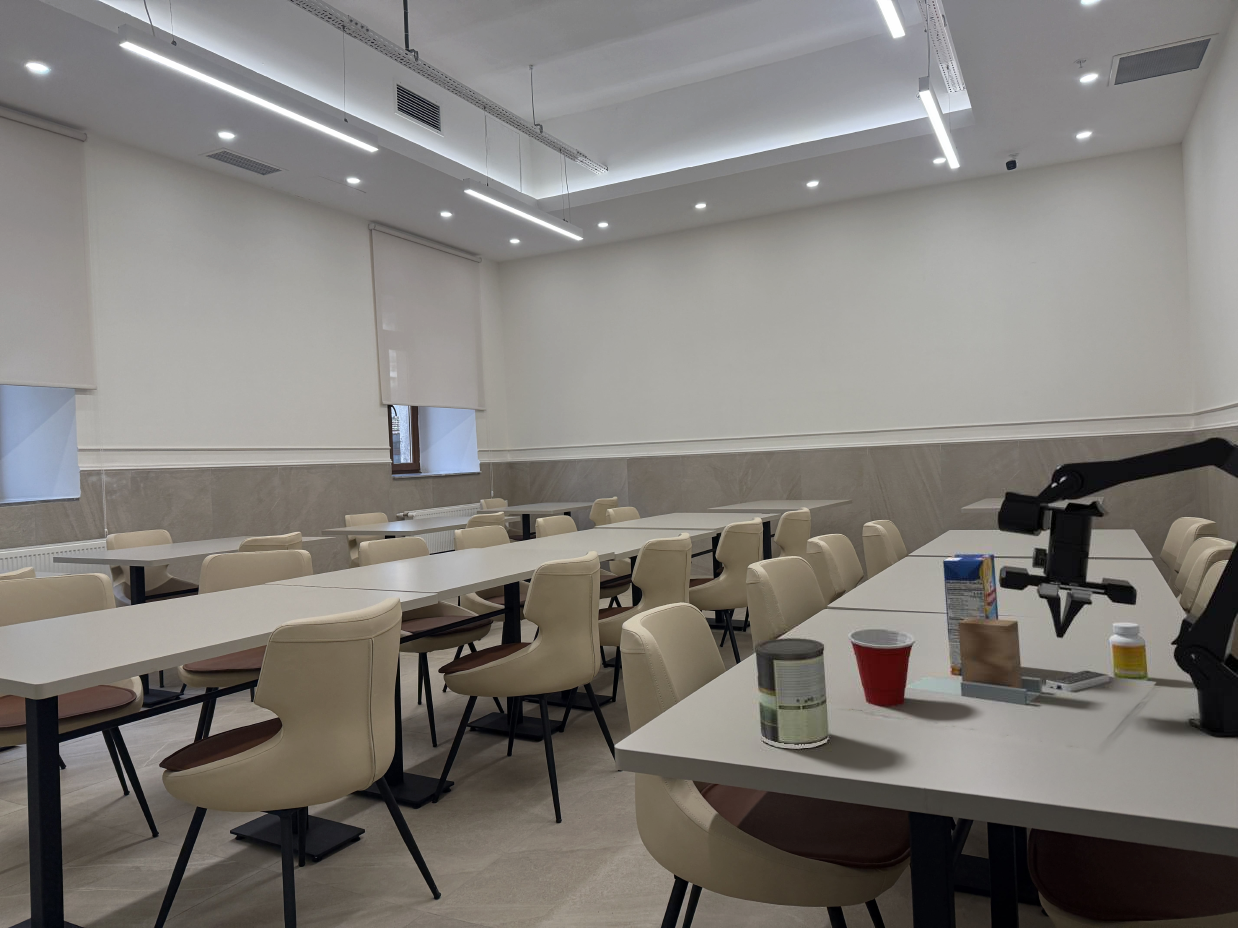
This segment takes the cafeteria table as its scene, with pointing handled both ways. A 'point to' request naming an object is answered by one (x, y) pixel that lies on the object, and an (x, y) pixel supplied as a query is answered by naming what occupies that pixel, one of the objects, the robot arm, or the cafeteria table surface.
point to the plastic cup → (882, 664)
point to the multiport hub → (1077, 681)
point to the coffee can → (792, 690)
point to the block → (990, 652)
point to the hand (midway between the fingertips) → (1059, 637)
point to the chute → (982, 689)
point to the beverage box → (968, 596)
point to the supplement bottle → (1128, 652)
